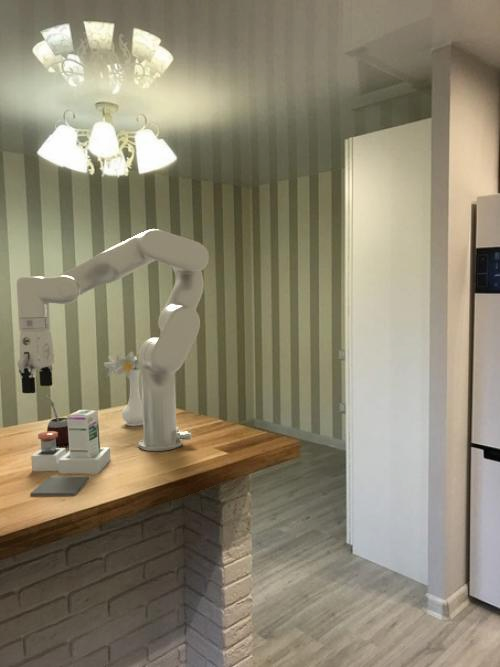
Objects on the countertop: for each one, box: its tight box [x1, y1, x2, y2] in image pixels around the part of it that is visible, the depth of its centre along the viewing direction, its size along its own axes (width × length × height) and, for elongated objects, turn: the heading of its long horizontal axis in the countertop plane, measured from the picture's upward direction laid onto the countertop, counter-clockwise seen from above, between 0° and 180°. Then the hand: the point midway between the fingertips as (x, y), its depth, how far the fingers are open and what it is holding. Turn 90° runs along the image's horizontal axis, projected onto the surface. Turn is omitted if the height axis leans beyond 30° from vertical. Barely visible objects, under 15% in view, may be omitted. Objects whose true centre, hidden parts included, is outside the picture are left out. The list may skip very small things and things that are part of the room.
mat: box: [29, 476, 90, 497], centre depth 123 cm, size 10×10×1 cm
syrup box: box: [66, 409, 101, 458], centre depth 136 cm, size 6×6×14 cm
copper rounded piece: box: [37, 431, 58, 455], centre depth 136 cm, size 5×5×6 cm
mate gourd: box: [44, 394, 69, 448], centre depth 154 cm, size 8×8×15 cm
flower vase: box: [103, 351, 143, 427], centre depth 177 cm, size 13×18×25 cm
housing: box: [30, 446, 111, 475], centre depth 136 cm, size 18×10×4 cm, turn 88°
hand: (37, 389), depth 138 cm, fingers open, 9 cm apart
